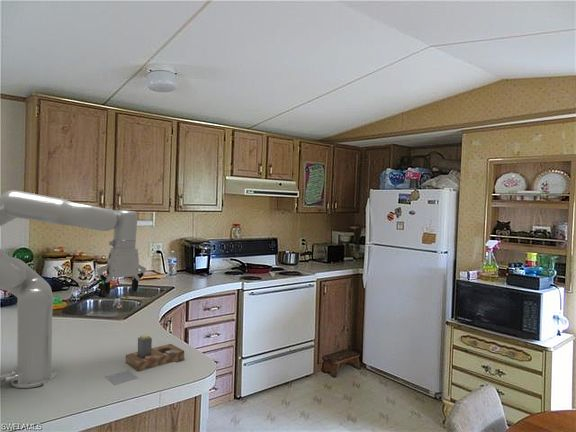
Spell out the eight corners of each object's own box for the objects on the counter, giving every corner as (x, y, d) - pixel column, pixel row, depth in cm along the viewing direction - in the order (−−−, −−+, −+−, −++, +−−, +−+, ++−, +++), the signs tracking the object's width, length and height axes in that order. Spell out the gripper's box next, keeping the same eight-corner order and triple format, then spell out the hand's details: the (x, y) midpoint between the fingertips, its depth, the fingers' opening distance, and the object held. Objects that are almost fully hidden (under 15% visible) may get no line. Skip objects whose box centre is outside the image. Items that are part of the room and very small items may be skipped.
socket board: (137, 373, 138) (138, 361, 138) (125, 364, 145) (125, 353, 145) (184, 359, 151) (184, 349, 151) (170, 352, 158) (170, 342, 158)
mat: (114, 386, 128) (114, 385, 128) (104, 378, 133) (104, 376, 133) (138, 379, 133) (138, 377, 133) (128, 372, 139) (128, 370, 139)
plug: (141, 368, 143) (142, 338, 142) (137, 365, 145) (137, 335, 145) (151, 365, 145) (151, 335, 145) (146, 362, 148) (147, 333, 147)
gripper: (103, 245, 135) (99, 296, 135) (151, 245, 147) (148, 292, 147) (95, 243, 141) (91, 292, 141) (143, 243, 153) (139, 288, 153)
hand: (120, 292), depth 144 cm, fingers open, 9 cm apart
